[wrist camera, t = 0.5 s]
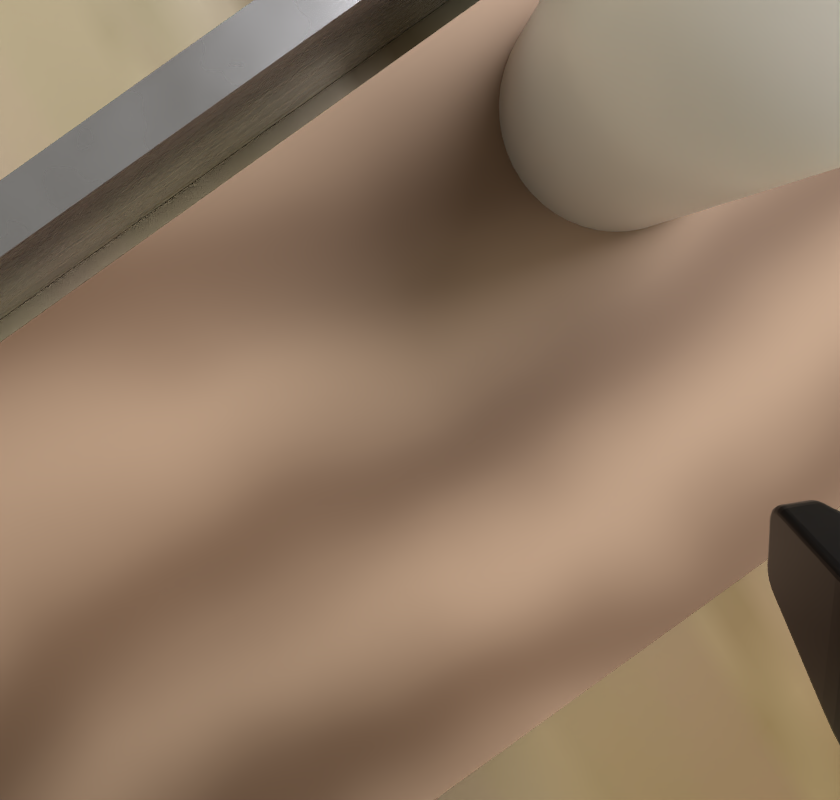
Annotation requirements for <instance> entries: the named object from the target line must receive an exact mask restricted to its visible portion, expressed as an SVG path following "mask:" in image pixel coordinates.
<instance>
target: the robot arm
mask: <svg viewBox="0 0 840 800" xmlns="http://www.w3.org/2000/svg"><path fill="white" fill-rule="evenodd" d="M768 576H769V581H770V584H771V588H772V591H773V593H774V596H775V598H776V600H777V603H778V605H779V607H780V610H781V612H782V614H783V617H784V619H785V622H786V624H787V626H788V629H789V631H790V633H791V636H792V638H793V640H794V643H795V645H796V647H797V650H798V652H799V655H800V657H801V659H802V662H803V664H804V666H805V669H806V671H807V673H808V676H809V678H810V680H811V683H812V685H813V688H814V690H815V692H816V695H817V697H818V699H819V702H820V704H821V706H822V709H823V711H824V713H825V715H826V718H827V720H828V722H829V724H830V727H831V729H832V731H833V733H834V735H835V737H836V739H837V741H838V742H839V744H840V511H838V510H836V509H834V508H832V507H830V506H828V505H826V504H825V503H822V502H820V501H817V500H806V501H800V502H794V503H788V504H782V505H778V506H776V507H775V508H774V509H773V510H772V513H771V516H770V526H769V547H768Z"/></svg>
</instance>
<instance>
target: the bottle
mask: <svg viewBox="0 0 840 800" xmlns="http://www.w3.org/2000/svg"><path fill="white" fill-rule="evenodd" d="M499 120H500V126H501V132H502V137H503V141H504V144H505V148H506V151H507V154H508V156H509V158H510V161H511V163H512V165H513V167H514V169H515V171H516V172H517V174H518V176H519V177H520V179H521V181H522V182H523V183H524V184H525V186H526V187H527V188H528V190H529V191H530V192H531V193H532V194H533V195H534V196H535V197H536V198H537V199H538V200H539V201H540V202H541V203H542V204H543V205H544V206H546V207H547V208H548V209H550V210H551V211H552V212H554V213H555V214H557V215H559V216H560V217H562V218H564V219H566V220H568V221H570V222H572V223H575V224H577V225H580V226H583V227H586V228H591V229H595V230H600V231H610V232H621V231H632V230H638V229H644V228H647V227H650V226H653V225H657V224H660V223H663V222H666V221H669V220H673V219H676V218H679V217H682V216H685V215H689V214H692V213H695V212H698V211H702V210H705V209H708V208H711V207H714V206H718V205H721V204H724V203H727V202H730V201H734V200H737V199H740V198H743V197H747V196H750V195H753V194H756V193H759V192H763V191H766V190H769V189H772V188H775V187H779V186H782V185H785V184H788V183H792V182H795V181H798V180H801V179H804V178H808V177H811V176H814V175H817V174H820V173H824V172H827V171H830V170H833V169H837V168H840V0H540V2H539V3H538V5H537V7H536V9H535V10H534V12H533V14H532V15H531V17H530V19H529V20H528V22H527V24H526V26H525V27H524V29H523V31H522V32H521V34H520V36H519V37H518V39H517V41H516V43H515V45H514V47H513V49H512V51H511V53H510V55H509V58H508V61H507V63H506V66H505V69H504V73H503V77H502V82H501V86H500V97H499Z"/></svg>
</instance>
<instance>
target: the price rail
mask: <svg viewBox="0 0 840 800" xmlns="http://www.w3.org/2000/svg"><path fill="white" fill-rule="evenodd" d="M446 1H448V0H254V1H252V2H251V3H249V4H248V5H247V6H245V7H244V8H242V9H241V10H240V11H238V12H237V13H235V14H234V15H233V16H231V17H230V18H228V19H227V20H226V21H224V22H223V23H221V24H220V25H218V26H217V27H216V28H214V29H213V30H211V31H210V32H209V33H207V34H206V35H204V36H203V37H202V38H200V39H199V40H197V41H196V42H195V43H193V44H192V45H190V46H189V47H188V48H186V49H185V50H183V51H182V52H180V53H179V54H178V55H176V56H175V57H173V58H172V59H171V60H169V61H168V62H166V63H165V64H164V65H162V66H161V67H159V68H158V69H157V70H155V71H154V72H152V73H151V74H150V75H148V76H147V77H145V78H144V79H142V80H141V81H140V82H138V83H137V84H135V85H134V86H133V87H131V88H130V89H128V90H127V91H126V92H124V93H123V94H121V95H120V96H119V97H117V98H116V99H114V100H113V101H112V102H110V103H109V104H107V105H106V106H104V107H103V108H102V109H100V110H99V111H97V112H96V113H95V114H93V115H92V116H90V117H89V118H88V119H86V120H85V121H83V122H82V123H81V124H79V125H78V126H76V127H75V128H73V129H72V130H71V131H69V132H68V133H66V134H65V135H64V136H62V137H61V138H59V139H58V140H57V141H55V142H54V143H52V144H51V145H50V146H48V147H47V148H45V149H44V150H43V151H41V152H40V153H38V154H37V155H35V156H34V157H33V158H31V159H30V160H28V161H27V162H26V163H24V164H23V165H21V166H20V167H19V168H17V169H16V170H14V171H13V172H12V173H10V174H9V175H7V176H6V177H5V178H3V179H2V180H0V319H2V318H3V317H4V316H6V315H7V314H9V313H10V312H11V311H13V310H14V309H16V308H17V307H18V306H20V305H21V304H23V303H24V302H25V301H27V300H28V299H30V298H31V297H32V296H34V295H35V294H37V293H38V292H39V291H41V290H42V289H44V288H45V287H46V286H48V285H49V284H51V283H52V282H53V281H55V280H56V279H58V278H59V277H60V276H62V275H63V274H65V273H66V272H68V271H69V270H70V269H72V268H73V267H75V266H76V265H77V264H79V263H80V262H82V261H83V260H84V259H86V258H87V257H89V256H90V255H91V254H93V253H94V252H96V251H97V250H98V249H100V248H101V247H103V246H104V245H105V244H107V243H108V242H110V241H111V240H112V239H114V238H115V237H117V236H118V235H119V234H121V233H122V232H124V231H125V230H126V229H128V228H129V227H131V226H132V225H133V224H135V223H136V222H138V221H139V220H140V219H142V218H143V217H145V216H146V215H148V214H149V213H150V212H152V211H153V210H155V209H156V208H157V207H159V206H160V205H162V204H163V203H164V202H166V201H167V200H169V199H170V198H171V197H173V196H174V195H176V194H177V193H178V192H180V191H181V190H183V189H184V188H185V187H187V186H188V185H190V184H191V183H192V182H194V181H195V180H197V179H198V178H199V177H201V176H202V175H204V174H205V173H206V172H208V171H209V170H211V169H212V168H213V167H215V166H216V165H218V164H219V163H221V162H222V161H223V160H225V159H226V158H228V157H229V156H230V155H232V154H233V153H235V152H236V151H237V150H239V149H240V148H242V147H243V146H244V145H246V144H247V143H249V142H250V141H251V140H253V139H254V138H256V137H257V136H258V135H260V134H261V133H263V132H264V131H265V130H267V129H268V128H270V127H271V126H272V125H274V124H275V123H277V122H278V121H279V120H281V119H282V118H284V117H285V116H286V115H288V114H289V113H291V112H292V111H293V110H295V109H296V108H298V107H299V106H301V105H302V104H303V103H305V102H306V101H308V100H309V99H310V98H312V97H313V96H315V95H316V94H317V93H319V92H320V91H322V90H323V89H324V88H326V87H327V86H329V85H330V84H331V83H333V82H334V81H336V80H337V79H338V78H340V77H341V76H343V75H344V74H345V73H347V72H348V71H350V70H351V69H352V68H354V67H355V66H357V65H358V64H359V63H361V62H362V61H364V60H365V59H366V58H368V57H369V56H371V55H372V54H374V53H375V52H376V51H378V50H379V49H381V48H382V47H383V46H385V45H386V44H388V43H389V42H390V41H392V40H393V39H395V38H396V37H397V36H399V35H400V34H402V33H403V32H404V31H406V30H407V29H409V28H410V27H411V26H413V25H414V24H416V23H417V22H418V21H420V20H421V19H423V18H424V17H425V16H427V15H428V14H430V13H431V12H432V11H434V10H435V9H437V8H438V7H439V6H441V5H442V4H444V3H445V2H446Z"/></svg>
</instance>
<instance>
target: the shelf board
mask: <svg viewBox="0 0 840 800" xmlns="http://www.w3.org/2000/svg"><path fill="white" fill-rule="evenodd" d="M539 2H540V0H480V1H478V2H477V3H476V4H474V5H473V6H471V7H470V8H469V9H467V10H466V11H464V12H463V13H462V14H460V15H459V16H457V17H456V18H455V19H453V20H452V21H450V22H449V23H448V24H446V25H445V26H443V27H442V28H440V29H439V30H438V31H436V32H435V33H433V34H432V35H431V36H429V37H428V38H426V39H425V40H424V41H422V42H421V43H419V44H418V45H417V46H415V47H414V48H412V49H411V50H410V51H408V52H407V53H405V54H404V55H403V56H401V57H400V58H398V59H397V60H396V61H394V62H393V63H391V64H390V65H389V66H387V67H386V68H384V69H383V70H382V71H380V72H379V73H377V74H376V75H375V76H373V77H372V78H370V79H369V80H368V81H366V82H365V83H363V84H362V85H361V86H359V87H358V88H356V89H355V90H354V91H352V92H351V93H349V94H348V95H346V96H345V97H344V98H342V99H341V100H339V101H338V102H337V103H335V104H334V105H332V106H331V107H330V108H328V109H327V110H325V111H324V112H323V113H321V114H320V115H318V116H317V117H316V118H314V119H313V120H311V121H310V122H309V123H307V124H306V125H304V126H303V127H302V128H300V129H299V130H297V131H296V132H295V133H293V134H292V135H290V136H289V137H288V138H286V139H285V140H283V141H282V142H281V143H279V144H278V145H276V146H275V147H274V148H272V149H271V150H269V151H268V152H267V153H265V154H264V155H262V156H261V157H260V158H258V159H257V160H255V161H254V162H252V163H251V164H250V165H248V166H247V167H245V168H244V169H243V170H241V171H240V172H238V173H237V174H236V175H234V176H233V177H231V178H230V179H229V180H227V181H226V182H224V183H223V184H222V185H220V186H219V187H217V188H216V189H215V190H213V191H212V192H210V193H209V194H208V195H206V196H205V197H203V198H202V199H201V200H199V201H198V202H196V203H195V204H194V205H192V206H191V207H189V208H188V209H187V210H185V211H184V212H182V213H181V214H180V215H178V216H177V217H175V218H174V219H173V220H171V221H170V222H168V223H167V224H166V225H164V226H163V227H161V228H160V229H158V230H157V231H156V232H154V233H153V234H151V235H150V236H149V237H147V238H146V239H144V240H143V241H142V242H140V243H139V244H137V245H136V246H135V247H133V248H132V249H130V250H129V251H128V252H126V253H125V254H123V255H122V256H121V257H119V258H118V259H116V260H115V261H114V262H112V263H111V264H109V265H108V266H107V267H105V268H104V269H102V270H101V271H100V272H98V273H97V274H95V275H94V276H93V277H91V278H90V279H88V280H87V281H86V282H84V283H83V284H81V285H80V286H79V287H77V288H76V289H74V290H73V291H72V292H70V293H69V294H67V295H66V296H64V297H63V298H62V299H60V300H59V301H57V302H56V303H55V304H53V305H52V306H50V307H49V308H48V309H46V310H45V311H43V312H42V313H41V314H39V315H38V316H36V317H35V318H34V319H32V320H31V321H29V322H28V323H27V324H25V325H24V326H22V327H21V328H20V329H18V330H17V331H15V332H14V333H13V334H11V335H10V336H8V337H7V338H6V339H4V340H3V341H1V342H0V800H436V799H437V798H438V797H440V796H441V795H443V794H444V793H445V792H447V791H448V790H450V789H451V788H452V787H454V786H455V785H456V784H458V783H459V782H461V781H462V780H463V779H465V778H466V777H467V776H469V775H470V774H472V773H473V772H474V771H476V770H477V769H479V768H480V767H481V766H483V765H484V764H485V763H487V762H488V761H490V760H491V759H492V758H494V757H495V756H496V755H498V754H499V753H501V752H502V751H503V750H505V749H506V748H508V747H509V746H510V745H512V744H513V743H514V742H516V741H517V740H519V739H520V738H521V737H523V736H524V735H526V734H527V733H528V732H530V731H531V730H532V729H534V728H535V727H537V726H538V725H539V724H541V723H542V722H543V721H545V720H546V719H548V718H549V717H550V716H552V715H553V714H555V713H556V712H557V711H559V710H560V709H561V708H563V707H564V706H566V705H567V704H568V703H570V702H571V701H572V700H574V699H575V698H577V697H578V696H579V695H581V694H582V693H584V692H585V691H586V690H588V689H589V688H590V687H592V686H593V685H595V684H596V683H597V682H599V681H600V680H601V679H603V678H604V677H606V676H607V675H608V674H610V673H611V672H613V671H614V670H615V669H617V668H618V667H619V666H621V665H622V664H624V663H625V662H626V661H628V660H629V659H631V658H632V657H633V656H635V655H636V654H637V653H639V652H640V651H642V650H643V649H644V648H646V647H647V646H648V645H650V644H651V643H653V642H654V641H655V640H657V639H658V638H660V637H661V636H662V635H664V634H665V633H666V632H668V631H669V630H671V629H672V628H673V627H675V626H676V625H677V624H679V623H680V622H682V621H683V620H684V619H686V618H687V617H689V616H690V615H691V614H693V613H694V612H695V611H697V610H698V609H700V608H701V607H702V606H704V605H705V604H707V603H708V602H709V601H711V600H712V599H713V598H715V597H716V596H718V595H719V594H720V593H722V592H723V591H724V590H726V589H727V588H729V587H730V586H731V585H733V584H734V583H736V582H737V581H738V580H740V579H741V578H742V577H744V576H745V575H747V574H748V573H749V572H751V571H752V570H753V569H755V568H756V567H758V566H759V565H760V564H762V563H763V562H765V561H766V560H767V559H768V547H769V526H770V516H771V513H772V510H773V509H774V508H775V507H776V506H778V505H782V504H788V503H794V502H800V501H806V500H817V501H820V502H822V503H825V504H826V505H828V506H830V507H832V508H834V509H838V508H839V507H840V168H837V169H833V170H830V171H827V172H824V173H820V174H817V175H814V176H811V177H808V178H804V179H801V180H798V181H795V182H792V183H788V184H785V185H782V186H779V187H775V188H772V189H769V190H766V191H763V192H759V193H756V194H753V195H750V196H747V197H743V198H740V199H737V200H734V201H730V202H727V203H724V204H721V205H718V206H714V207H711V208H708V209H705V210H702V211H698V212H695V213H692V214H689V215H685V216H682V217H679V218H676V219H673V220H669V221H666V222H663V223H660V224H657V225H653V226H650V227H647V228H644V229H638V230H632V231H621V232H610V231H600V230H595V229H591V228H586V227H583V226H580V225H577V224H575V223H572V222H570V221H568V220H566V219H564V218H562V217H560V216H559V215H557V214H555V213H554V212H552V211H551V210H550V209H548V208H547V207H546V206H544V205H543V204H542V203H541V202H540V201H539V200H538V199H537V198H536V197H535V196H534V195H533V194H532V193H531V192H530V191H529V190H528V188H527V187H526V186H525V184H524V183H523V182H522V181H521V179H520V177H519V176H518V174H517V172H516V171H515V169H514V167H513V165H512V163H511V161H510V158H509V156H508V154H507V151H506V148H505V144H504V141H503V137H502V132H501V126H500V120H499V97H500V86H501V82H502V77H503V73H504V69H505V66H506V63H507V61H508V58H509V55H510V53H511V51H512V49H513V47H514V45H515V43H516V41H517V39H518V37H519V36H520V34H521V32H522V31H523V29H524V27H525V26H526V24H527V22H528V20H529V19H530V17H531V15H532V14H533V12H534V10H535V9H536V7H537V5H538V3H539Z"/></svg>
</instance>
